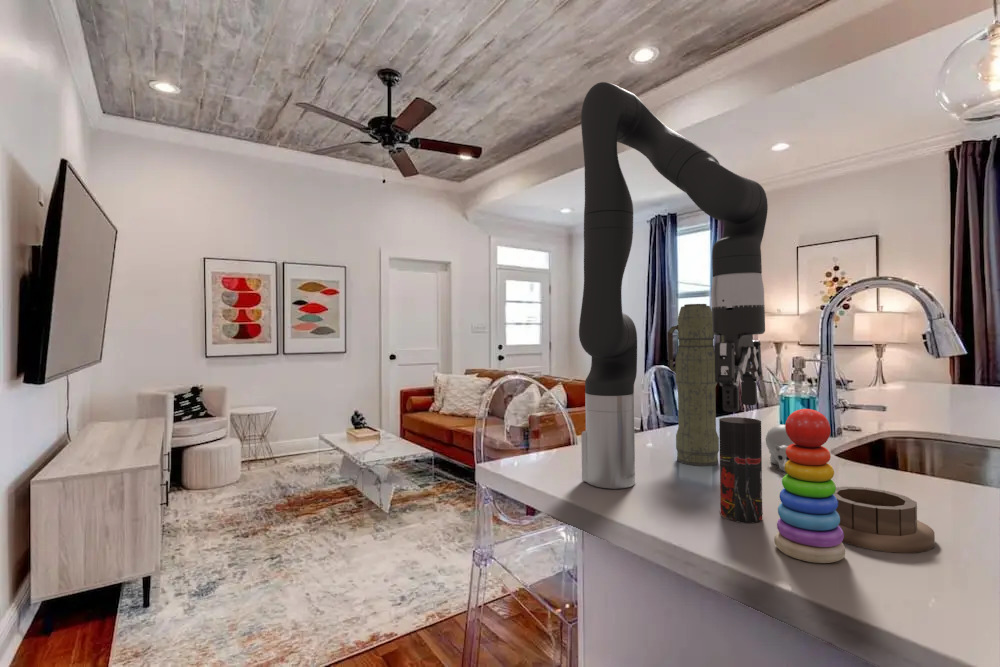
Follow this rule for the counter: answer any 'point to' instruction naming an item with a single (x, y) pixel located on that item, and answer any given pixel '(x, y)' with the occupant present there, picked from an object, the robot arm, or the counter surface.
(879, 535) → the socket stand
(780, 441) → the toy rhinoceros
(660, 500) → the counter surface
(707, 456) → the thermos
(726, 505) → the deodorant
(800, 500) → the stacking toy
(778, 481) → the counter surface
